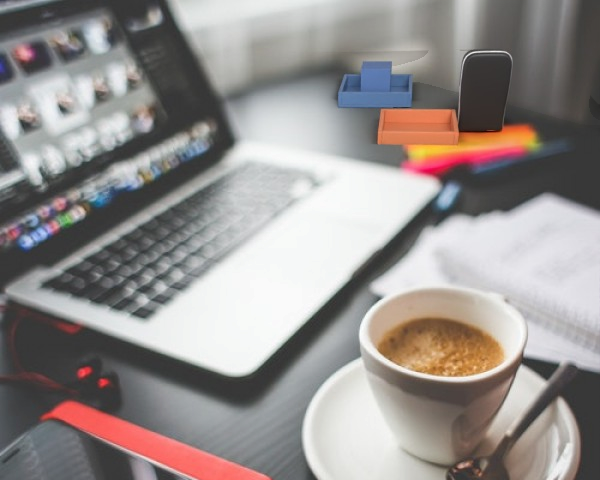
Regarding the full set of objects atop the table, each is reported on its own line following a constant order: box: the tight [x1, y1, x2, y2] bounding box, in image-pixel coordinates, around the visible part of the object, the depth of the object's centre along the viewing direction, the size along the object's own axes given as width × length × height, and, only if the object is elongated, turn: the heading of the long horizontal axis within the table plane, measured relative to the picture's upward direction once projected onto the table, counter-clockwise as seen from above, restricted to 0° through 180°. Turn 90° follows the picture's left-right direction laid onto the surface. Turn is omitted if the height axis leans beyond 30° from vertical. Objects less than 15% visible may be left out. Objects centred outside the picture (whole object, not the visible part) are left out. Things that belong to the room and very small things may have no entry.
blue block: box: [360, 60, 393, 92], centre depth 108 cm, size 5×5×5 cm
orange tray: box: [377, 108, 460, 146], centre depth 93 cm, size 11×10×2 cm
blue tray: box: [337, 73, 413, 109], centre depth 109 cm, size 12×11×2 cm
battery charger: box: [457, 48, 513, 132], centre depth 92 cm, size 7×4×11 cm, turn 84°
